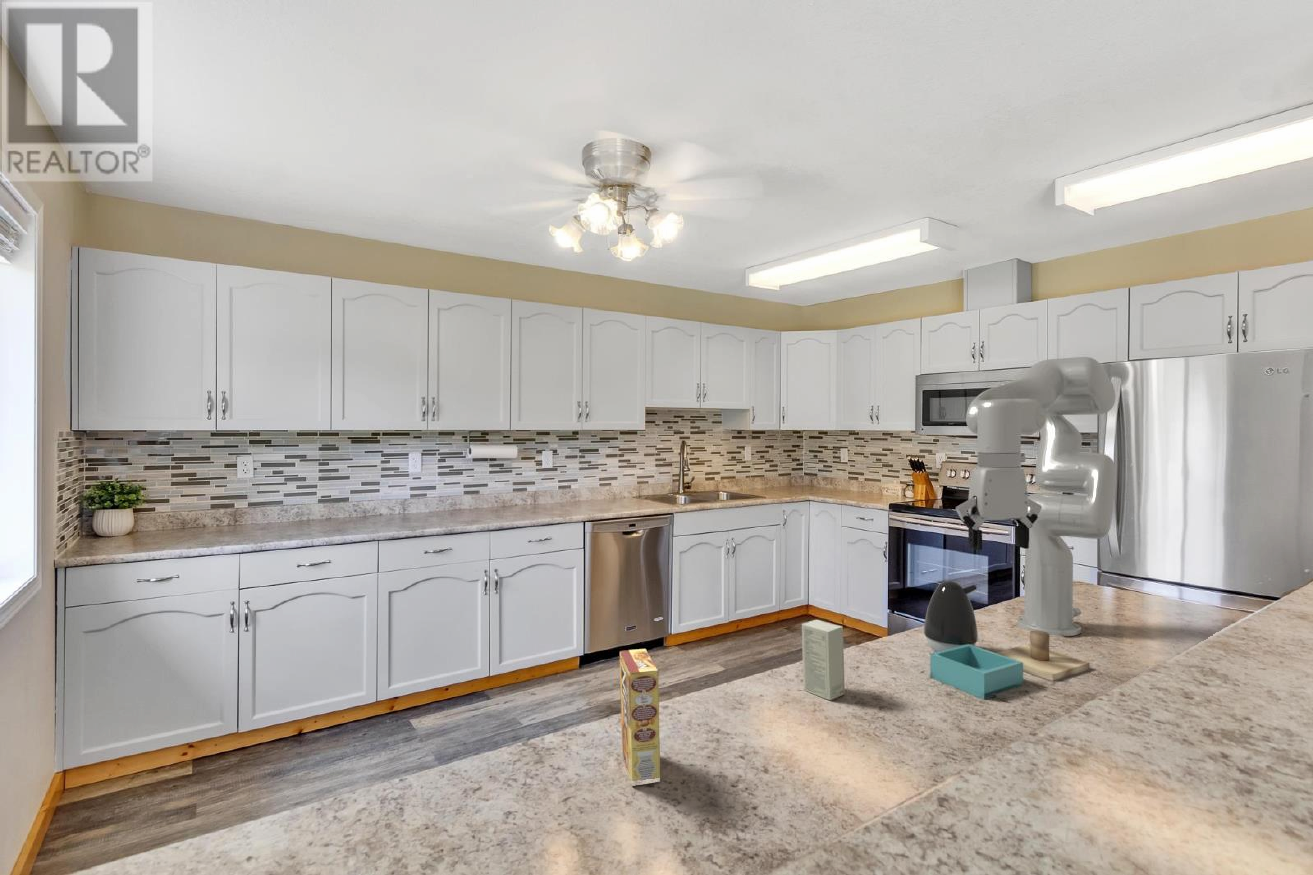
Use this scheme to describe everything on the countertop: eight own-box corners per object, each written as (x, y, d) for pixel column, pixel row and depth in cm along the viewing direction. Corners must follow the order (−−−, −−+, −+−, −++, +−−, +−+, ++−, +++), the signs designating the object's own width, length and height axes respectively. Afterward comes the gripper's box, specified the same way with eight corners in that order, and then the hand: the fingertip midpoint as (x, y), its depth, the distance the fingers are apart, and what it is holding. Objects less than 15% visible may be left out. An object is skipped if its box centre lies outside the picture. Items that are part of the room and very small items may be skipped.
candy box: (661, 784, 84) (660, 670, 84) (630, 788, 83) (629, 673, 83) (647, 751, 92) (646, 647, 92) (619, 754, 91) (618, 650, 91)
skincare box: (845, 695, 111) (845, 626, 111) (829, 701, 108) (829, 632, 108) (816, 683, 116) (816, 618, 116) (801, 689, 113) (800, 623, 113)
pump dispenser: (988, 662, 126) (988, 587, 126) (936, 662, 126) (936, 587, 126) (964, 645, 136) (964, 575, 136) (916, 644, 136) (916, 575, 136)
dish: (968, 666, 124) (968, 644, 124) (1023, 687, 114) (1023, 662, 114) (930, 677, 119) (930, 653, 119) (984, 699, 109) (984, 673, 109)
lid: (1028, 649, 132) (1028, 620, 132) (1089, 669, 121) (1089, 637, 121) (991, 659, 126) (991, 629, 126) (1052, 680, 116) (1052, 647, 116)
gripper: (1026, 460, 128) (1026, 543, 129) (946, 461, 127) (946, 546, 127) (1053, 462, 121) (1053, 550, 121) (968, 464, 119) (968, 553, 120)
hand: (998, 548), depth 124 cm, fingers open, 9 cm apart
